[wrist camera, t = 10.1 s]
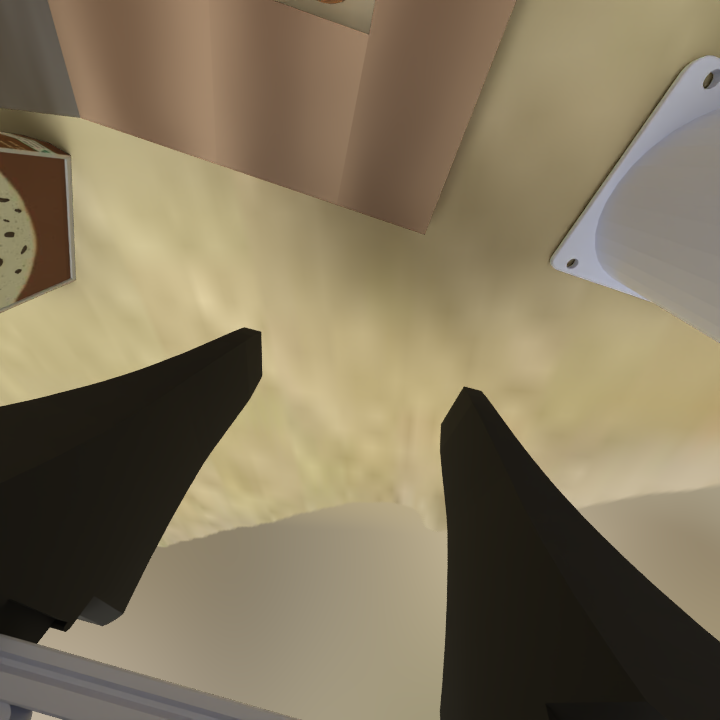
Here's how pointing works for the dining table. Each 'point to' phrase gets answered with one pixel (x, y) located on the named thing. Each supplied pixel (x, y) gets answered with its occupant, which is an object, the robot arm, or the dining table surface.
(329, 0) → the peg
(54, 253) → the food container
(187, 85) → the socket block
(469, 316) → the dining table surface
